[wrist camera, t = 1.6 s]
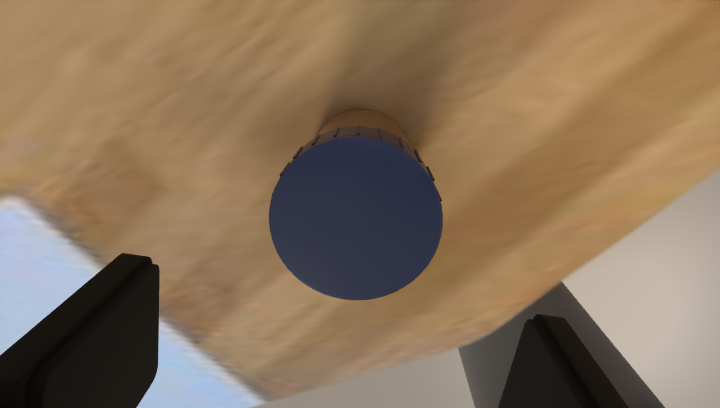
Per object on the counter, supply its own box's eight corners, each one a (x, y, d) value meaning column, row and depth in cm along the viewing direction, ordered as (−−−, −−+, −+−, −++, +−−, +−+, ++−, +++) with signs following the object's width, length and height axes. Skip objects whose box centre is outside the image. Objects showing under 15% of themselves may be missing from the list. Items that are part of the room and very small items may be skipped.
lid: (450, 138, 20) (462, 151, 17) (418, 282, 22) (424, 313, 19) (288, 112, 20) (276, 122, 17) (273, 260, 22) (260, 288, 19)
